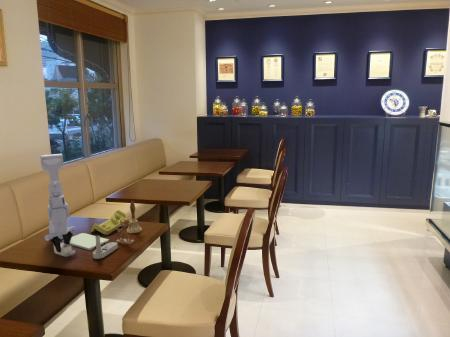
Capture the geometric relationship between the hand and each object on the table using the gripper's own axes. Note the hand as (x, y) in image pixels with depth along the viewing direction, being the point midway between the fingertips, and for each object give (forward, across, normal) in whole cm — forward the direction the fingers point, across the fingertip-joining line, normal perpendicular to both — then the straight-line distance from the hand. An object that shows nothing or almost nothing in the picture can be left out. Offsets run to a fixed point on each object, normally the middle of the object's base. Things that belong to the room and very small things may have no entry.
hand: (63, 250), depth 172 cm
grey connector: (+2, 0, -1) cm, 2 cm away
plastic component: (+2, +33, +6) cm, 34 cm away
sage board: (+2, +14, +2) cm, 14 cm away
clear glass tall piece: (+2, +23, -16) cm, 28 cm away
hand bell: (+2, +37, -8) cm, 38 cm away
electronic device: (+2, +10, -17) cm, 20 cm away
